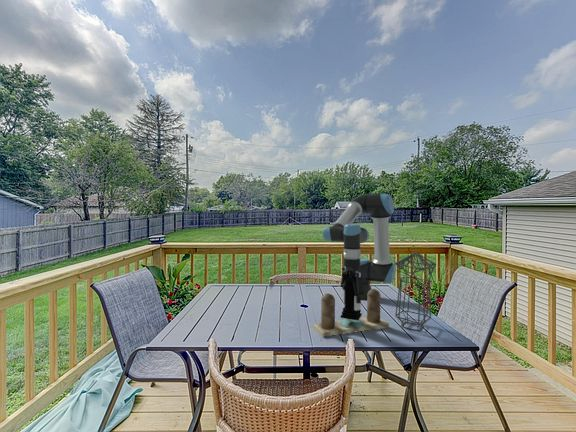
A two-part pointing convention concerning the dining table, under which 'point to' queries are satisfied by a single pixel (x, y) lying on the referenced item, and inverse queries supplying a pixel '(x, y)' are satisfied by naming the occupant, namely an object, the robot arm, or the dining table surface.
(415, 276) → the geometric lantern
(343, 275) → the chess piece
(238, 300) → the dining table surface
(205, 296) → the dining table surface
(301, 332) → the dining table surface
